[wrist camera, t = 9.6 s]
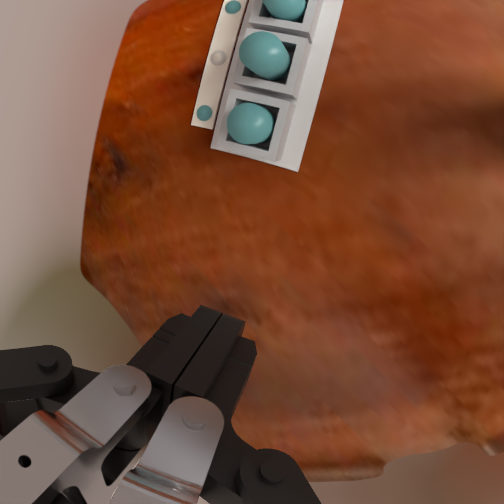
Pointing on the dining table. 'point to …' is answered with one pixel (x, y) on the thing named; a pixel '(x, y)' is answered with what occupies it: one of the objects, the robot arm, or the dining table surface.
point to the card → (218, 63)
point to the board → (281, 82)
